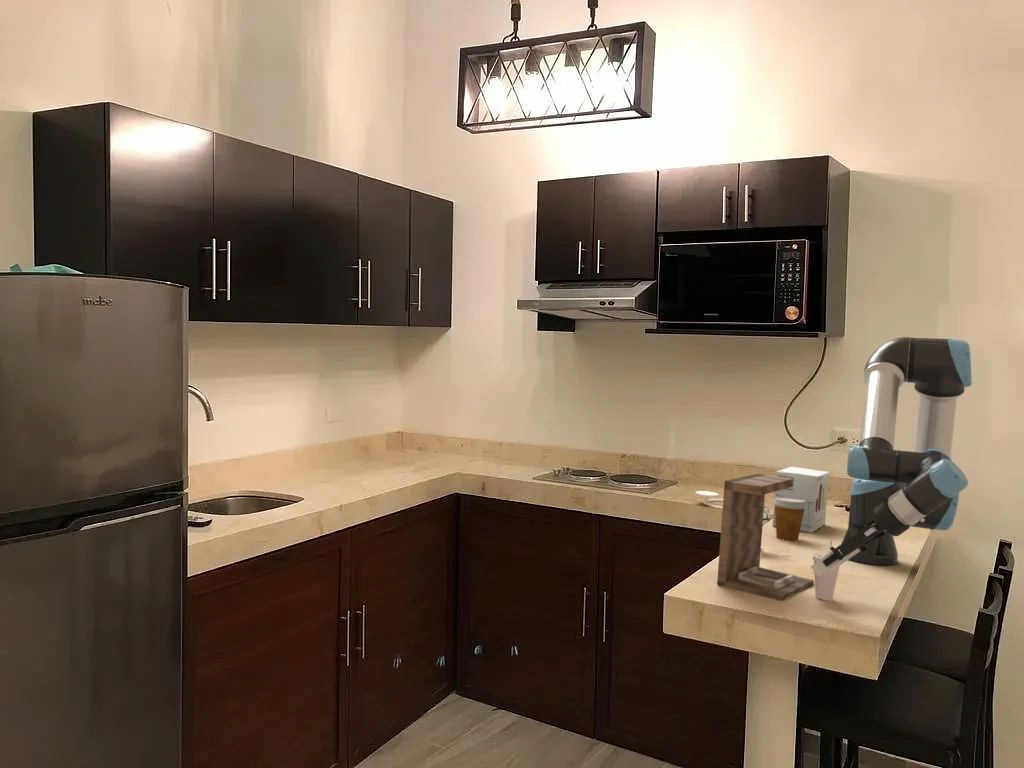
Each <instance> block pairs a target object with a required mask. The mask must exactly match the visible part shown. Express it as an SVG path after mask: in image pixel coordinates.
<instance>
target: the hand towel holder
mask: <svg viewBox="0 0 1024 768" xmlns="http://www.w3.org/2000/svg"><path fill="white" fill-rule="evenodd" d="M695 494H696V495H698V496H701V497H704V501H703V503H702V504H703V505H704V504H705V505H704V506H707V505H708V507H709V508H716V509H720V510H723V505H722V506H721V505H717V504H713V502H722V501H723V498H715V497H718V496H719V493H717V492H713V491H707V490H705V491H704V490H698V491H695ZM710 502H712V503H710Z"/></svg>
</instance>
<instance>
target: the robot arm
mask: <svg viewBox="0 0 1024 768" xmlns="http://www.w3.org/2000/svg"><path fill="white" fill-rule="evenodd" d="M971 361H972V359H971V347H970V344H969V343H968V342H967V341H966V340H959V339H952V338H929V337H911V336H902V337H895V338H894V339H890V340H888V341H887V342H885V343H884V344H882V345H881V346H879V347H878V348H877V349H876V350H875V351H874V352H873V353H872V354H871V355H870V356H869V357H868V360H867V361H866V363H865V367H864V370H863V381H864V384H865V385H866V387H865V394H864V395H865V396H864V401H863V402H864V403H863V411H862V417H861V418H862V419H861V425H860V434H859V439H858V441H859V442H858V445H852V446H850V447H849V448H848V453H847V463H846V472H847V475H848V476H849V478H853V480H852V483H851V490H850V493H849V495H850V501H849V503H850V504H849V511H848V512H849V514H848V525H847V529H846V532H845V534H844V537H843V539H842V541H841V543H840V545H838V546H837V547H834V546H833V545H832V547H831V548H830V549H831V550H832V551H831V552H830V553H829V552H828V553H826V554H827V555H826V556H824V557H823V558H822V559H820V560H819V561H817V562H816V563H815V564H814V563H813V564H812V565H810V568H811V569H812V570H813V572H815V573H816V575H817V576H818V577H819V576H820V575H822V574H823V573H825V572H826V571H827V570H829V569H830V568H831V567H833V566H834V565H836V564H837V563H838V562H840V561H841V560H842V561H841V562H842V563H841V564H840V566H841V565H843V564H844V563H846V562H847V561H849V560H850V561H853V562H857V563H861V564H866V565H867V564H868V565H875V566H876V565H878V566H893V565H896V564H898V560H899V553H898V549H897V545H896V542H895V539H894V538H895V537H899V536H900V535H902V534H903V533H905V532H906V531H907V530H909V529H910V527H912V528H918V529H926V530H930V531H934V530H935V531H947V530H950V528H951V527H952V526H953V524H954V521H955V517H956V513H957V510H958V509H957V508H958V503H959V498H960V497H959V495H960V493H962V491H964V490H965V489H966V488H967V487H968V485H969V480H968V478H967V477H966V474H965V473H964V472H963V470H962V469H961V468H960V467H959V466H958V465H957V464H956V463H954V462H953V460H952V458H951V456H952V446H953V444H952V443H953V438H954V437H953V436H954V427H955V418H956V408H957V400H958V398H960V397H961V396H962V395H964V393H965V389H966V388H968V387H971V386H972V363H971ZM904 383H911V384H914V386H913V387H914V391H915V392H916V393H917V394H918V395H919V401H918V402H919V404H918V405H919V406H918V415H917V425H916V435H915V436H916V437H915V447H914V451H911V450H910V451H909V450H908V451H907V450H898V449H894V445H895V437H896V436H895V433H896V422H897V414H898V413H897V411H898V401H899V394H900V393H899V391H900V387H902V385H903V384H904Z"/></svg>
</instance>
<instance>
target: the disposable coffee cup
mask: <svg viewBox="0 0 1024 768" xmlns="http://www.w3.org/2000/svg"><path fill="white" fill-rule="evenodd" d="M774 500H775V501H773V505H775V517H776V526H775V534H776V535H775V536H776V538H777V539H779V538H780V539H779V540H782V539H784V540H783V541H787V540H790V541H791V542H795V540H796V541H798V540H799V537H800V532H801V531H800V528H801V523H802V518H803V514H804V509H805V507H806V504H805V500H803V499H799V498H793V497H776V498H775V497H774Z"/></svg>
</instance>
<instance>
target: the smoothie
mask: <svg viewBox="0 0 1024 768" xmlns="http://www.w3.org/2000/svg"><path fill="white" fill-rule="evenodd" d="M832 546H833V538H832V537H831V538H829V548H828V553H830V552H831V551H832V550H831V549H830V548H831V547H832ZM828 553H814V554H813V555H812V561H813V564H815V563H816V562H817V561H819V560H820V559H822V558H823V557H824V556H826V555H827V554H828ZM841 561H842V560H841ZM841 561H840V562H838V563H837V564H836V565H834V566H833V567H831V568H830V569H829V570H827V571H826V572H825V573H823V574H822V575H820V576H819V577H818V576H817V575H816V573H815V572H814V571H813V572H814V588H815V589H814V590H815V591H814V592H815V598H816V599H818V598H819V600H821V599H823V600H822V601H832V600H833V599H834V593H835V589H836V584H837V579H838V574H839V570H840V566H841V565H842V564H841V563H842V562H841ZM840 564H841V565H840Z"/></svg>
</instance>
